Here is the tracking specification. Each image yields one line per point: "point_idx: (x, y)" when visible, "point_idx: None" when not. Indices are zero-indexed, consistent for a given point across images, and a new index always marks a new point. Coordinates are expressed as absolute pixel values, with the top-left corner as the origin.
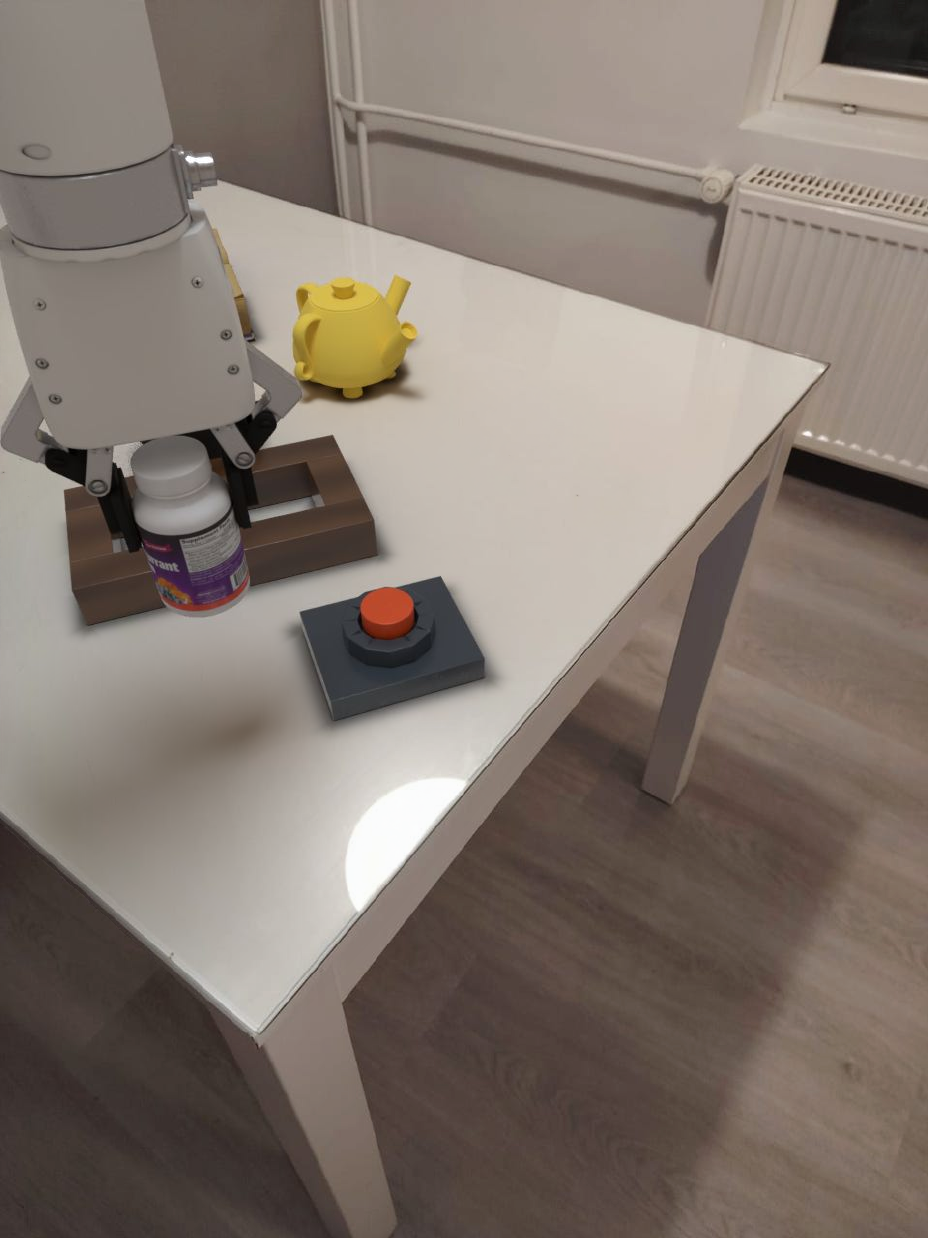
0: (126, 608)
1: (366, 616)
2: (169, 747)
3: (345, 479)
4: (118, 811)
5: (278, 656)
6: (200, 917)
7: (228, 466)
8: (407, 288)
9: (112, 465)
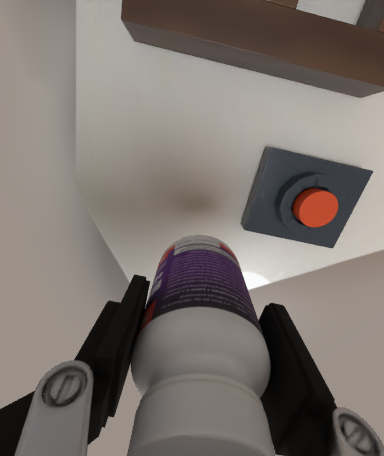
0: (165, 45)
1: (300, 212)
2: (158, 192)
3: None
4: (125, 216)
5: (240, 160)
6: (146, 278)
7: (285, 440)
8: None
9: (97, 416)
